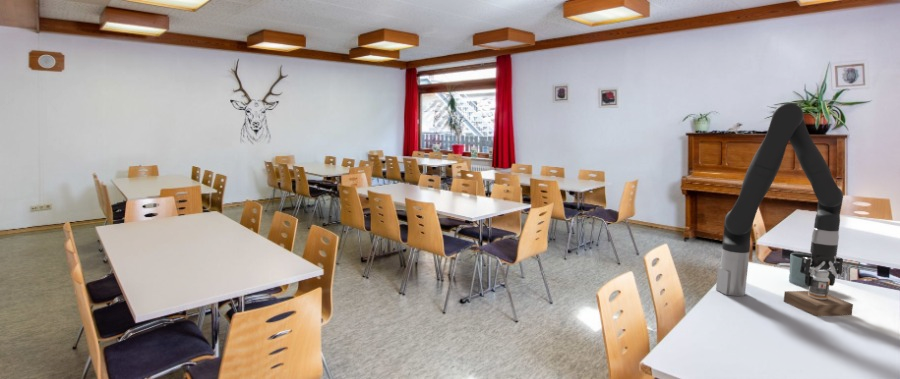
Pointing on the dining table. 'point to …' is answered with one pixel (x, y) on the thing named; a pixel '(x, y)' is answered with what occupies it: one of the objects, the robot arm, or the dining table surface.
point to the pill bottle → (820, 285)
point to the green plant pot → (797, 269)
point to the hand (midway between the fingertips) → (819, 285)
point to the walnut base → (818, 304)
